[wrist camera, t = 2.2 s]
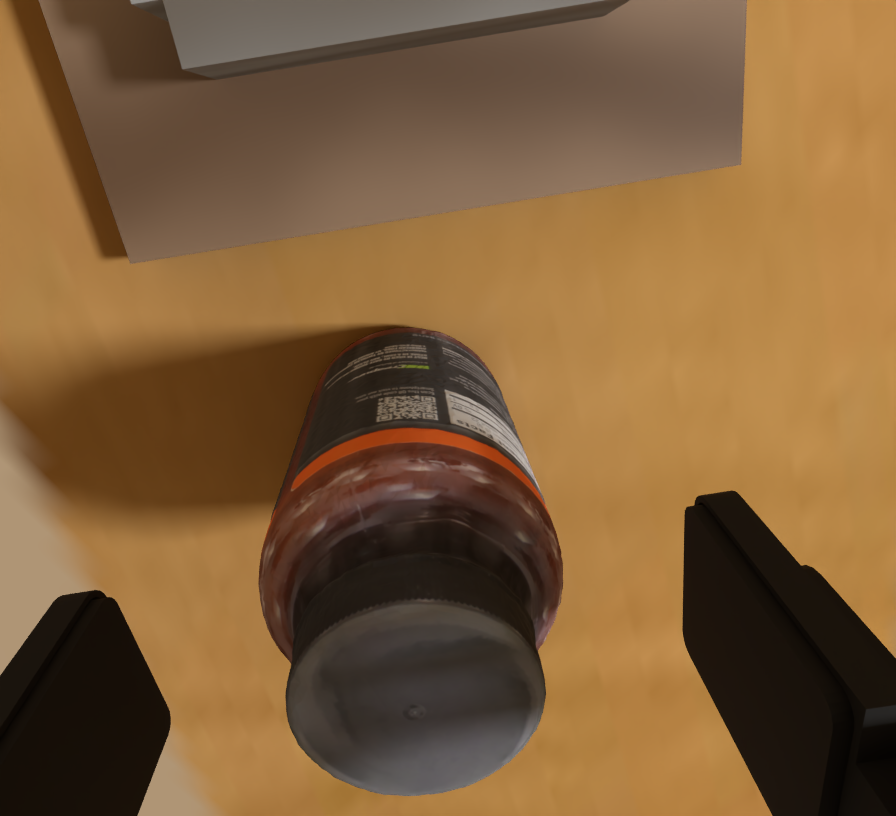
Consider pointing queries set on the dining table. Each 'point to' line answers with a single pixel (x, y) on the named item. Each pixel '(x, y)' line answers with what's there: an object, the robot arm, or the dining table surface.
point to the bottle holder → (386, 107)
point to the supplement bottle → (410, 570)
